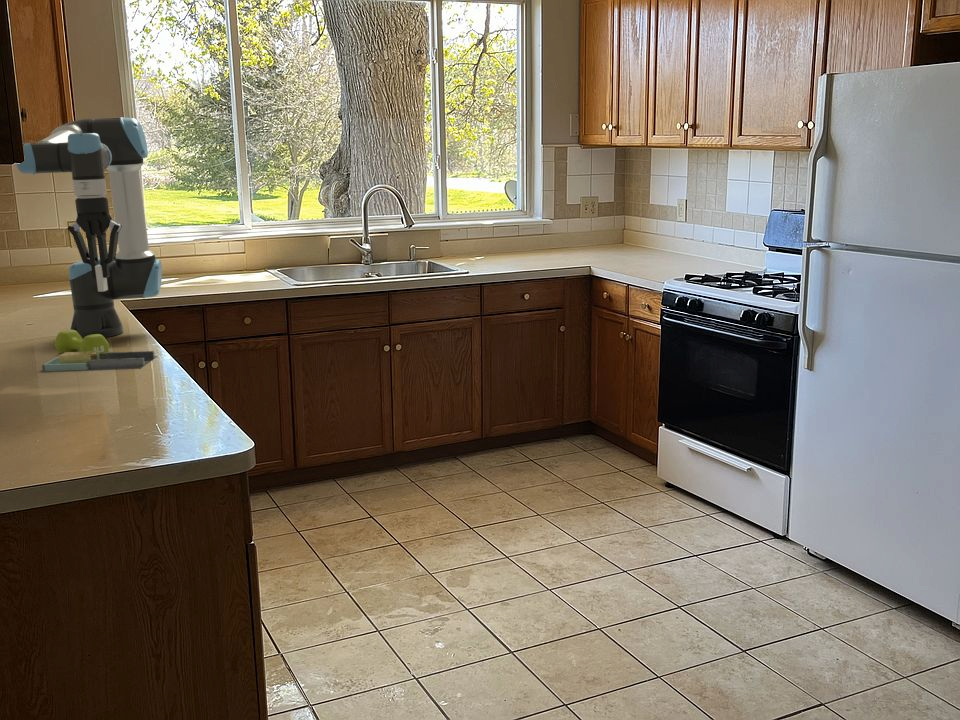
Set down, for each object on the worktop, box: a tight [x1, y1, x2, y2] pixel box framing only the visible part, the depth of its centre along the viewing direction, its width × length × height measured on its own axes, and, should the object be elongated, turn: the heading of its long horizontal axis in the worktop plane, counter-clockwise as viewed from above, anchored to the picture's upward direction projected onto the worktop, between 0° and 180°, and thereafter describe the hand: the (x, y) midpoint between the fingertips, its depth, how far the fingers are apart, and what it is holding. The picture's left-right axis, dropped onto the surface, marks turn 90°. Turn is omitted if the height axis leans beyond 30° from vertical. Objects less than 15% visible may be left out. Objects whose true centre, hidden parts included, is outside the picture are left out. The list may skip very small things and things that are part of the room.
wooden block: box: [58, 351, 80, 364], centre depth 239 cm, size 4×4×4 cm
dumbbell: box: [53, 329, 110, 354], centre depth 254 cm, size 16×8×7 cm, turn 54°
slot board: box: [84, 350, 159, 372], centre depth 239 cm, size 14×14×4 cm
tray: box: [41, 354, 100, 372], centre depth 239 cm, size 11×11×3 cm
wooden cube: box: [75, 351, 97, 367], centre depth 239 cm, size 4×4×4 cm
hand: (103, 290), depth 236 cm, fingers closed
